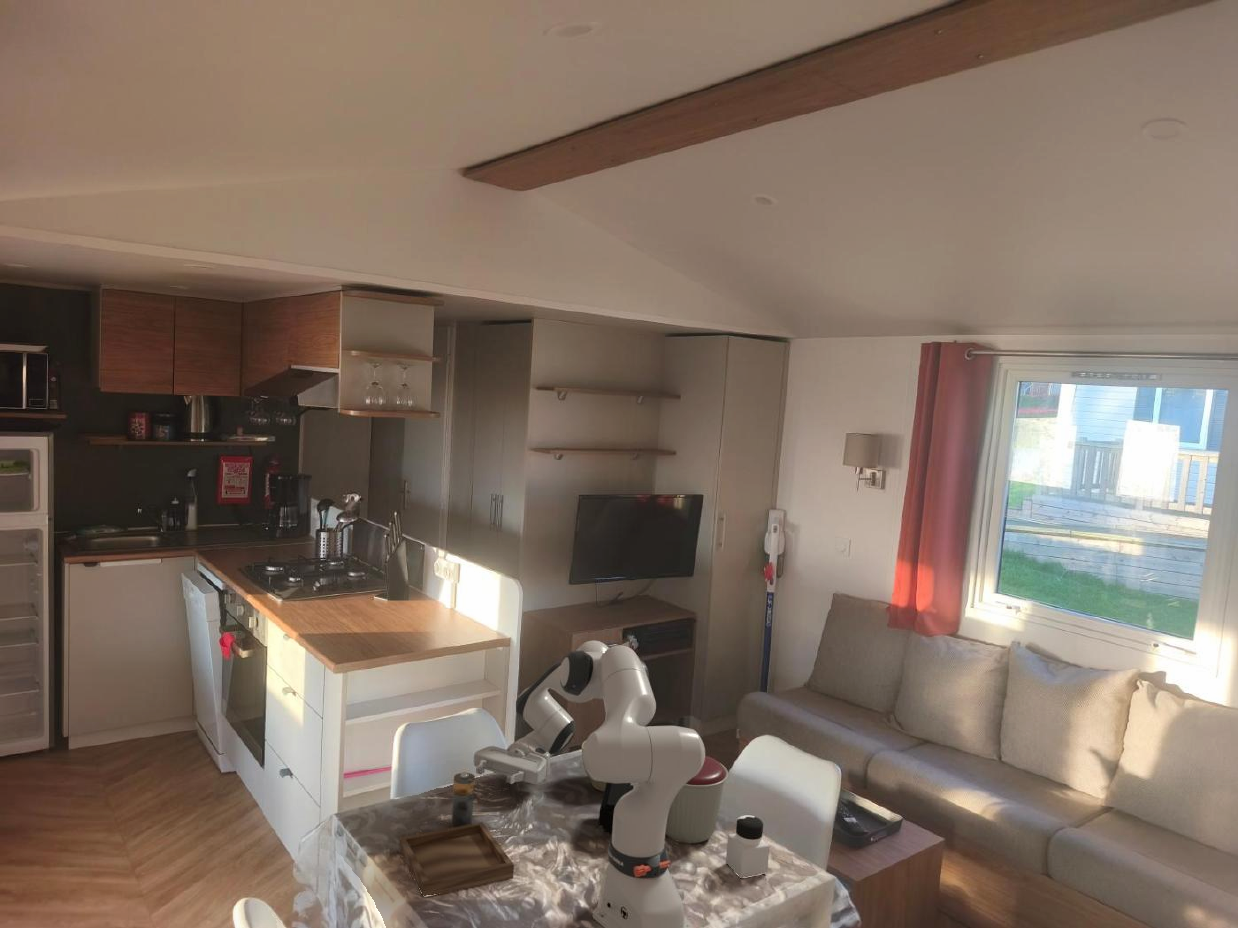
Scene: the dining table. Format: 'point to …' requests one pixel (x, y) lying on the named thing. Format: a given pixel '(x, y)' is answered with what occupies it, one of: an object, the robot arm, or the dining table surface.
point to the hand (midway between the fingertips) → (493, 775)
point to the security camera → (611, 803)
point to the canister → (697, 804)
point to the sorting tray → (455, 859)
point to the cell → (463, 799)
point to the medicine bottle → (747, 847)
